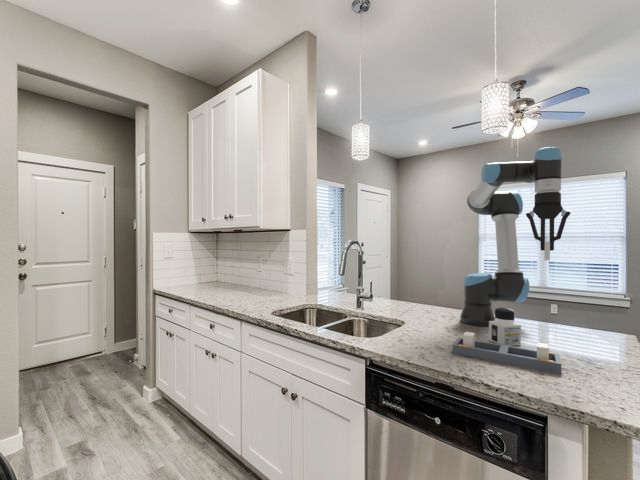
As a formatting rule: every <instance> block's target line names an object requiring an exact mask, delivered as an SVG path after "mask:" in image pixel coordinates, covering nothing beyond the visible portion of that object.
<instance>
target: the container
mask: <svg viewBox="0 0 640 480" xmlns="http://www.w3.org/2000/svg"><path fill="white" fill-rule="evenodd" d="M515 313H516V312H515V310H513V309H511V308H507V307H498V308H495V309H494V317H495V321H489V326H488V341H490V342H491V343H495V344H501V345H507V346H513V347H516V346H521V344H522V325H521V324H520V323H517V322H516V321H515V318H516V316H515Z"/></svg>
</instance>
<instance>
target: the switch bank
mask: <svg viewBox="0 0 640 480" xmlns="http://www.w3.org/2000/svg"><path fill="white" fill-rule="evenodd" d="M452 354H453V355H457V356H458V355H459V356H463V357H469V358H474V359H480V360H485V361H490V362H494V363H500V364H506V365H510V366H516V367H521V368H522V367H523V368H527V369H532V370H538V371H541V372H548V373H551V374H552V373H553V374H558V375H562V361H561V356H560V354H559V353H554V352H551V351H549V360H546V359H541V358H540V359H537V349H530V348H526V347H519V346H507V345H501V344H497V343H494V342H487V341H482V340H476V339H475V347H469V346H466V345H463V337H457V338H456V340H455V341H454V342H453V343H452Z"/></svg>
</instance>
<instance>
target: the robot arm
mask: <svg viewBox="0 0 640 480" xmlns="http://www.w3.org/2000/svg"><path fill="white" fill-rule="evenodd" d="M562 158H563V157H562V150H561V148H560V147H558V146H548V147H542V148H539V149H537V150H536V151H535V152H534V160H531V161H528V160H527V161H509V162H508V161H505V162H497V161H496V162H494V161H493V162H490V163H489V162H488V163H484V164H483V166H482V168H481V172H480V173H481V175H480V176H481V181H480V182H479V183H478V185H477V186H476V188H475V189H473V190H472V191H471V192H470V193H469V195H468V196H467V199H466V203H467V206H468V208H469V209H470V210H471V211H472V212H473V213H476V214H478V215H483V216H491V220H492V221H493V222H495V223H494V224H495V239H496V240H495V241H496V254H497V255H496V257H497V270H496V271H495V272H494V276H493V275H492V273H491V272H490V273H489V272H477V273H476V272H475V273H469V274H467V275H466V276H465V277H464V284H463V286H464V292H463V293H464V297H463V299H464V301H463V302H464V303H463V308H462V310H461V313H460V315H459V318H460V319H459V321H460V322H461V323H464V324H466V325H471V326H478V327H489V321H495V313H494V311H493V307H492V302H504V303H506V302H507V303H522V302H524V301H526V300H527V299H528V297H529V293H530V281H529V278H527V277H526V276H524V272H523V271H522V270H520V264H519V263H520V262H519V251H518V240H517V239H518V238H517V226H516V225H517V224H516V220H517V219H518V218H519V216H520V215H521V214H522V213H523V209H524V208H523V207H524V202H523V197H522V196H521V193H519V192H518V191H514V190H513V191H512V190H506V191H505V190H504V191H498V189H499V188H500V187H501V186H502V185H503V184H504V183H514V182H515V183H519V182H524V183H527V184H533V183H534V193H535V194H534V207H533V208H532V210H531V211H529V212H526V213H525V216H526V218H527V219H528V220H529V223H530V226H531V230H532V234H533V237H534V239H535V240H537V241H539V242H540V251H544V253H543V254H544V261H550V259H551V251H554V250H555V242H556V241H557V240H561V238H562V234H563V231H564V228H565V226H566V222H567V219H568V217H569V216H570V215H571V211H567V210H565V209H564V207H563V205H562V193H561V190H562ZM559 215H560V216H561V220H560V223H559V226H558V230H557V231H556V236H555V219H556V218H557V216H559ZM535 216H537V217H538V218H539V219H540V236H539V234H538V229H537V227H536V224H535V219H534V217H535ZM546 220H549V241H546Z"/></svg>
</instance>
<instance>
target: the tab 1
mask: <svg viewBox="0 0 640 480" xmlns="http://www.w3.org/2000/svg"><path fill="white" fill-rule="evenodd" d="M475 337H476V332H470V331H465V332H464V333H463V334H462V338H463V345H466V346H469V347H475V340H476V338H475Z"/></svg>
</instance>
